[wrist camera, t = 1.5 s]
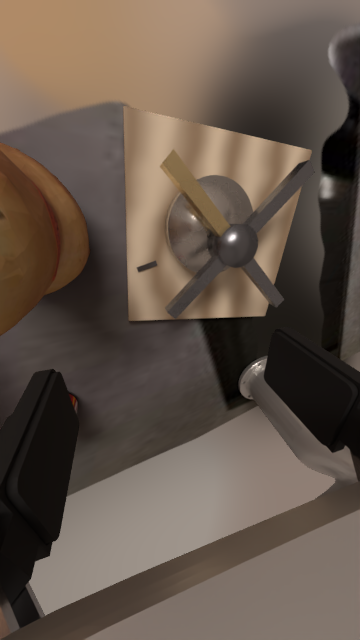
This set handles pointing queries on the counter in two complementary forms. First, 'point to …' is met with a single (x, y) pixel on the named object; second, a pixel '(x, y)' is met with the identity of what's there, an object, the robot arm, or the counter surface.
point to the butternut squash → (35, 235)
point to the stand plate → (158, 191)
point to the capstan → (220, 227)
